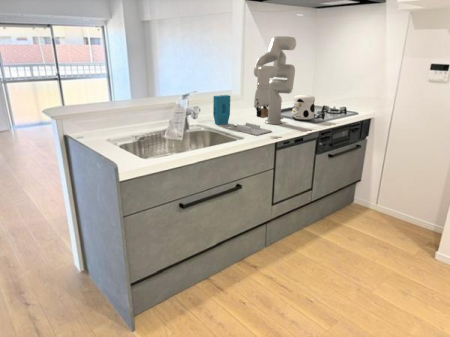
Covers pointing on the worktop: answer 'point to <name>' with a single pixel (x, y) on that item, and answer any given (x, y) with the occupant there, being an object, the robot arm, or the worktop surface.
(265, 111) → the walnut block
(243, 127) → the tube board
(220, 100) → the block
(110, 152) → the worktop surface
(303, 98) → the milk container
